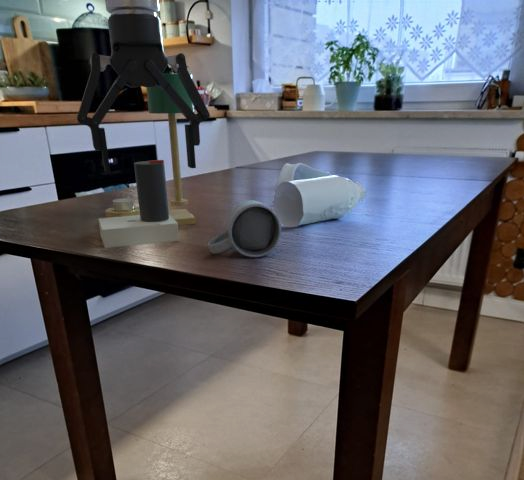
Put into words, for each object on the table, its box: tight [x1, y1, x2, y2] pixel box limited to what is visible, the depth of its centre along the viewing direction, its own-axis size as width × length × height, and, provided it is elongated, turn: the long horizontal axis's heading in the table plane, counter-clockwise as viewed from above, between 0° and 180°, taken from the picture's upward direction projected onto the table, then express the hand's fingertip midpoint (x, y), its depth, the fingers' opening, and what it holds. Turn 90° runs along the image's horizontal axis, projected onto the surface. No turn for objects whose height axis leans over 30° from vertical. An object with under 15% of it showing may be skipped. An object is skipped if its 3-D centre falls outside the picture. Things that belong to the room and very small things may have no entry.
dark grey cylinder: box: [133, 159, 169, 222], centre depth 85 cm, size 5×5×9 cm
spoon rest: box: [274, 162, 331, 194], centre depth 127 cm, size 24×12×7 cm, turn 160°
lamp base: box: [105, 205, 197, 226], centre depth 98 cm, size 16×9×3 cm, turn 110°
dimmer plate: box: [97, 215, 181, 249], centre depth 87 cm, size 14×9×3 cm, turn 110°
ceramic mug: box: [207, 199, 282, 258], centre depth 78 cm, size 11×8×8 cm
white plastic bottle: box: [271, 174, 367, 228], centre depth 97 cm, size 8×19×8 cm, turn 128°
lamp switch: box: [112, 198, 134, 212], centre depth 95 cm, size 4×4×2 cm
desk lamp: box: [145, 73, 195, 207], centre depth 94 cm, size 8×8×22 cm
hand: (150, 170), depth 84 cm, fingers open, 13 cm apart
